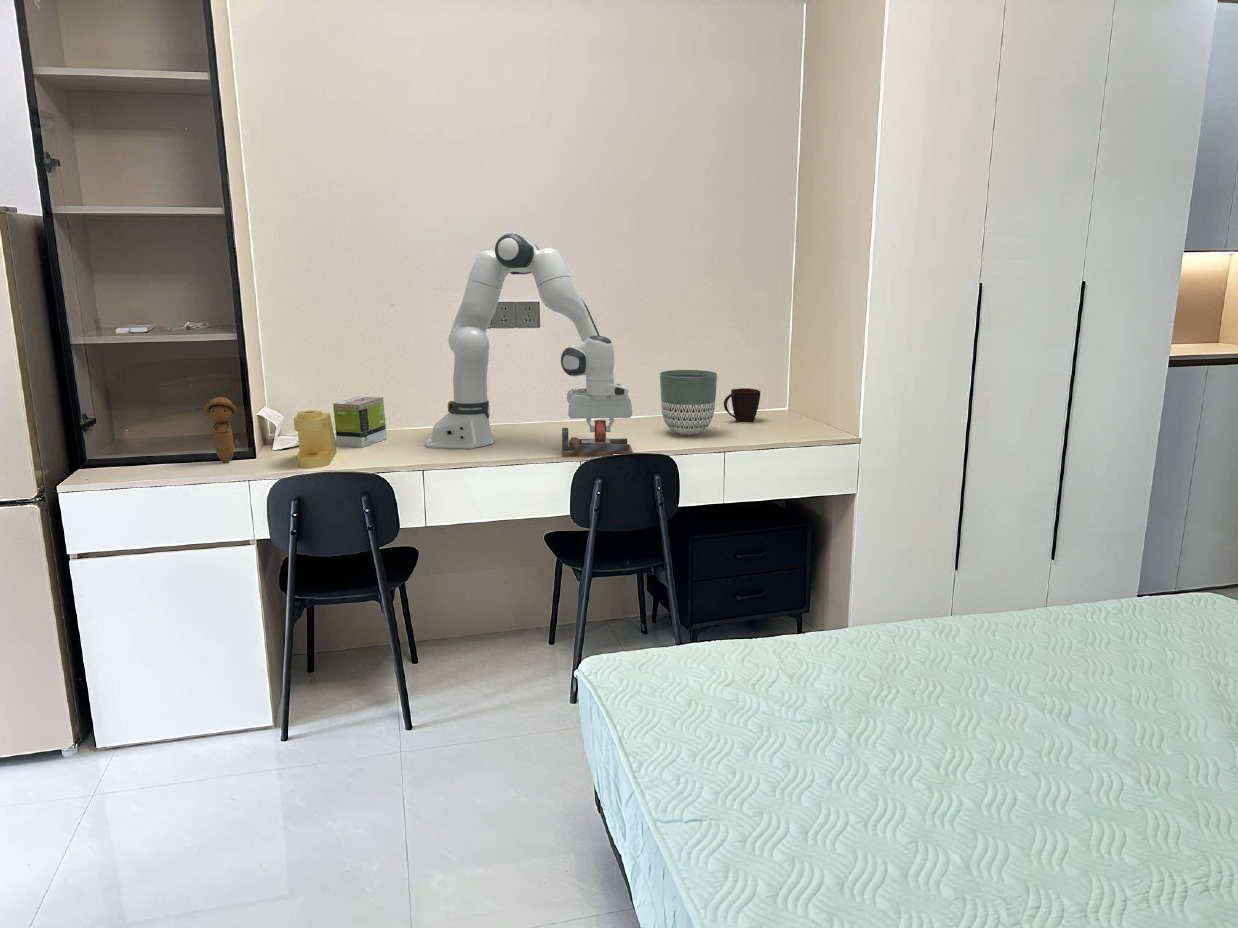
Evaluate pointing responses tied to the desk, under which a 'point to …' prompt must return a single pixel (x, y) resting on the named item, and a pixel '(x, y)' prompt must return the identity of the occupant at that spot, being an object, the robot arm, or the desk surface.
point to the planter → (688, 400)
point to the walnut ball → (574, 441)
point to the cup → (743, 404)
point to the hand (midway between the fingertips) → (600, 431)
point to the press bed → (594, 447)
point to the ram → (598, 434)
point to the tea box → (359, 421)
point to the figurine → (222, 426)
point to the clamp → (314, 439)
